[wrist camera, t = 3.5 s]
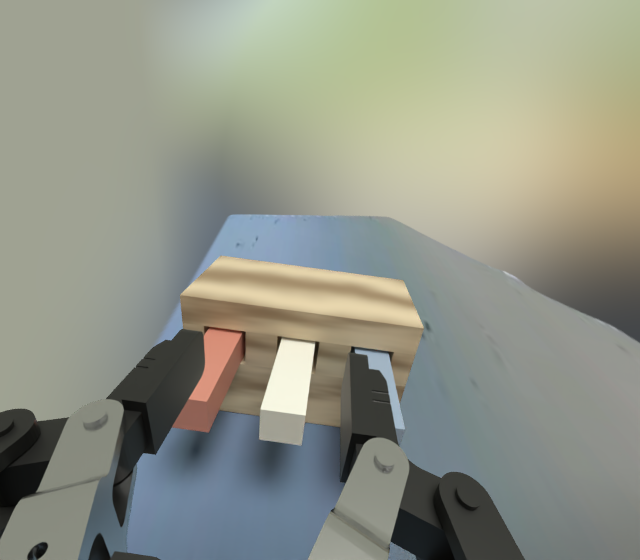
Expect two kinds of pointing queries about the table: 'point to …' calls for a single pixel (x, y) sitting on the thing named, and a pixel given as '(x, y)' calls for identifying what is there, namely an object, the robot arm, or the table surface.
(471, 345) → the table surface
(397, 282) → the key box
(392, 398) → the blue key
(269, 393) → the white key
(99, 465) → the robot arm
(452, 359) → the table surface
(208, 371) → the red key
